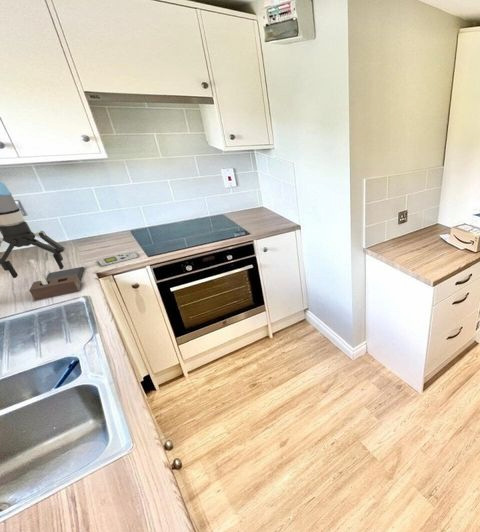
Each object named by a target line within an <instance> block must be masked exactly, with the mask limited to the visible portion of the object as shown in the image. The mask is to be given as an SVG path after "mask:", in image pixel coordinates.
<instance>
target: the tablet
mask: <svg viewBox="0 0 480 532" xmlns="http://www.w3.org/2000/svg"><path fill="white" fill-rule="evenodd" d="M84 271H85V267H84V266H79V267H74V268H73V267H72V268H68V269H62V270H58V271H53V272H49V273H48V275H47V276H46V277H45V279H46V280H47V279H52V278H57V277H62V276H68V275H73V274H77V276H78V278H79V280H80V281H81V279H82V277H83V275H84V274H83V273H84Z"/></svg>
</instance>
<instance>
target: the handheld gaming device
mask: <svg viewBox="0 0 480 532" xmlns="http://www.w3.org/2000/svg"><path fill="white" fill-rule="evenodd" d="M138 257H139V256H138V255H137V253H136V252H135V251H129V252H125V253H120V254H117V255H111V256H108V257H103V258H99V259H98V260H97V261H98V263H99V265H100V266H101V267H104V266H108V265H113V264H116V263H120V262H124V261H127V260H132V259H135V258H138Z"/></svg>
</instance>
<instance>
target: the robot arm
mask: <svg viewBox="0 0 480 532" xmlns="http://www.w3.org/2000/svg"><path fill="white" fill-rule="evenodd" d="M25 220H26V219H25V217H24V215H23V213H22V211H21V210H20V208H19V206H18V205H17V202H16V201H15V199H14V197H13V195H12V192H10V190H9V188H8V187H7V185H6V184H5V183H4V182H2V181H0V234H1V235H2V237H0V246H1V245H2V244H3V242H4V243H7V244H9V245H8V246H7V249H5V251H4V253H3V255H2V256H1V258H0V265H1V267H2V269H3V271H6V272H7V271H8V272H9V274H10V275H11V277H12V278H13V279H16V278H17V277H18V273H17V270H16V269H15V268H14V266H13V265H12V262H11V261H10V260H7V259H8V258H9V256H10V254H11V253H12V251H13V250H14V248H15V247H16V248H21V247H28V246H31V245H32V246H34V247H38V248H40V249H43V250H45V251H47V252H49V253H52V257H53V258H54V261H55V262H56V264H57V266H58V267H59V269H60V270H64V267H65V266H64V264H63V260H64V256H63V255H62V254H61V253H64V252H65V248H66V247H64V246H62V245H61V244H60V243H59V242H57V241H55V240H54V239H52V238H51V237H50V236H48V235H47V234H46V231H44V230H40V231H39V232H35V233H34V232H33V231H32V230H31V228H30V226H29V224H28V222H27V221H25ZM36 237H37V238H39V239H41V240H43V241H44V242H45V243H44V242H42V241H40V240H38V239H36ZM46 243H47V244H46Z"/></svg>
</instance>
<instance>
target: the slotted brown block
mask: <svg viewBox="0 0 480 532" xmlns="http://www.w3.org/2000/svg"><path fill="white" fill-rule="evenodd" d="M46 281H47V283H48V284H46V285H43V284H42V282H41V281H40V280H37V281H34V282H33V283H31V286H30V288H29V289H28V291H29V293H30V295H31V296H32V298H33V299H34V301H40V300H44V299H49V298H55V297H58V296H63V295H68V294H72V293H76V292H80V289H81V286H82V282H81V280H79V278H78V276H77V274H73V275H68V276H62V277H57V278H52V279H47V280H46Z"/></svg>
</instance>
